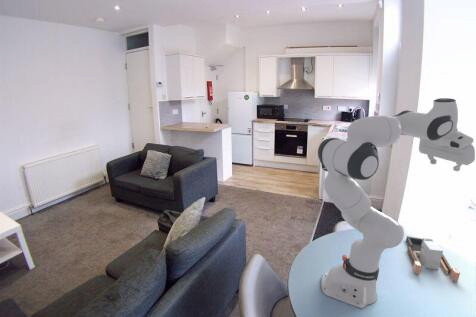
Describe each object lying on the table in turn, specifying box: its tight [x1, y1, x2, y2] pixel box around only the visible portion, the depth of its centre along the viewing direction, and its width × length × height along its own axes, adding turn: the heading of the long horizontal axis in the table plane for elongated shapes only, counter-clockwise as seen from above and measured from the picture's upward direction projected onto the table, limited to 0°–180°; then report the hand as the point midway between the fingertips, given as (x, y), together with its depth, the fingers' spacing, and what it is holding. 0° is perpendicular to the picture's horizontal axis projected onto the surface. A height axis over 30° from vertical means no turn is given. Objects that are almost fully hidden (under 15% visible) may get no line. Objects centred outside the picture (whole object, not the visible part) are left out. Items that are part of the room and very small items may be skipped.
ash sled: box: [412, 237, 448, 275], centre depth 136 cm, size 12×14×9 cm
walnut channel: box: [407, 245, 453, 276], centre depth 137 cm, size 15×14×3 cm
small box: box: [418, 241, 444, 270], centre depth 135 cm, size 8×6×10 cm
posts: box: [412, 261, 461, 283], centre depth 127 cm, size 17×3×5 cm, turn 71°
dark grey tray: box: [405, 235, 423, 252], centre depth 148 cm, size 12×9×3 cm
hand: (444, 166), depth 116 cm, fingers open, 8 cm apart
